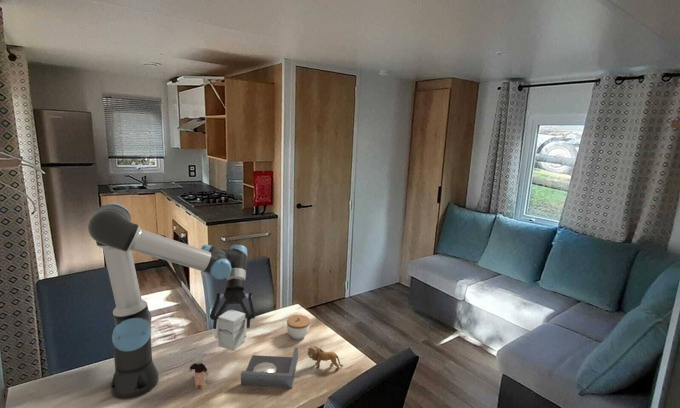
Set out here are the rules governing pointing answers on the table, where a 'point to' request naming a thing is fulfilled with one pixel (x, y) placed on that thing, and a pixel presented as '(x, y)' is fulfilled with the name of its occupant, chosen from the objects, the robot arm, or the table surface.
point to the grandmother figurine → (199, 371)
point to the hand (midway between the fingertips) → (230, 337)
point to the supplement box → (231, 329)
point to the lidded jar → (298, 326)
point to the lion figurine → (323, 356)
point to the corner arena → (270, 371)
